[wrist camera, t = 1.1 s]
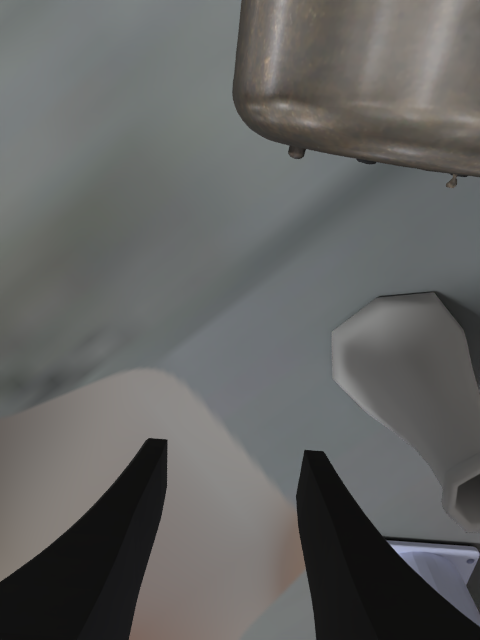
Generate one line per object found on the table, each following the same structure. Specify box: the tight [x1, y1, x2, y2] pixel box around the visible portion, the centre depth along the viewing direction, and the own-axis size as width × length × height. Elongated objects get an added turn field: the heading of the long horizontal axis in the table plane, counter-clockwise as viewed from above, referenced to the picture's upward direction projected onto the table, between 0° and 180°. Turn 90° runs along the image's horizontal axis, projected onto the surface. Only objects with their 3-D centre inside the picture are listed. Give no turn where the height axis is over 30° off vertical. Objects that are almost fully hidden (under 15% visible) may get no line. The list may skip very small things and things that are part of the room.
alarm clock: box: [232, 0, 480, 188], centre depth 10 cm, size 11×5×16 cm, turn 83°
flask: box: [331, 292, 480, 533], centre depth 18 cm, size 7×7×10 cm
